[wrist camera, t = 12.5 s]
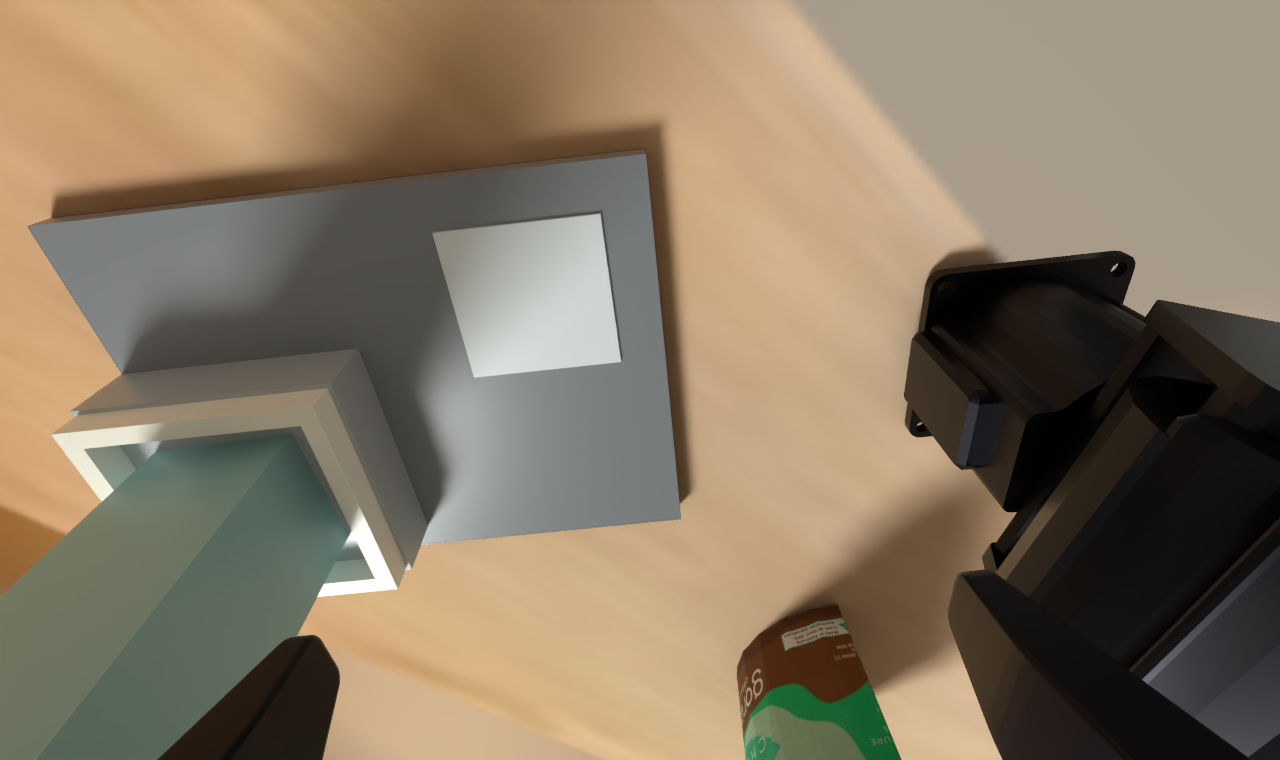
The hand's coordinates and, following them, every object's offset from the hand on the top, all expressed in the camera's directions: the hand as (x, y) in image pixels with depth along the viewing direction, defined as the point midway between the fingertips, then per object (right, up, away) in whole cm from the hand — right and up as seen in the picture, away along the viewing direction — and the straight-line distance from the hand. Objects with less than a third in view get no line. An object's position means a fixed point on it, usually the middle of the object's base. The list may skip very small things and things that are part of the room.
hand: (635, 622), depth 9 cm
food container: (+7, -11, +22) cm, 26 cm away
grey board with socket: (-8, +3, +13) cm, 16 cm away
